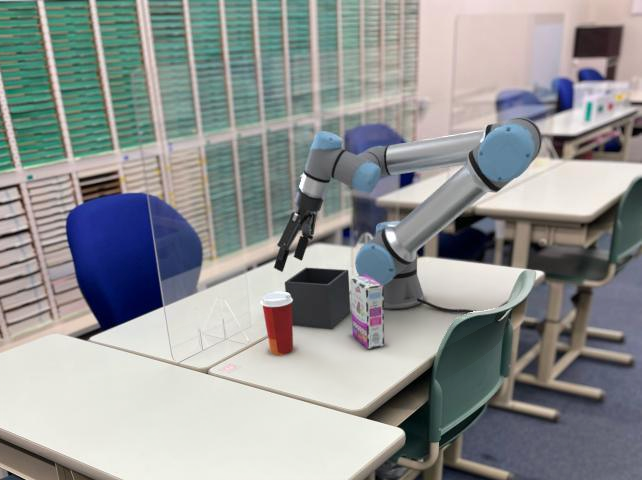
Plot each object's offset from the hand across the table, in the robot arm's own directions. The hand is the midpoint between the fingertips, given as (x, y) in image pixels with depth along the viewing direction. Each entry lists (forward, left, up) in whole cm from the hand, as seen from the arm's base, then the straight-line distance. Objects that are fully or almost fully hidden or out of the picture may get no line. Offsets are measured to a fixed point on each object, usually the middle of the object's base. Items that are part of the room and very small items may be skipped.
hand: (288, 264), depth 202 cm
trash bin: (-10, +3, -15) cm, 18 cm away
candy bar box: (-30, +15, -15) cm, 37 cm away
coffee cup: (-10, +27, -15) cm, 32 cm away
